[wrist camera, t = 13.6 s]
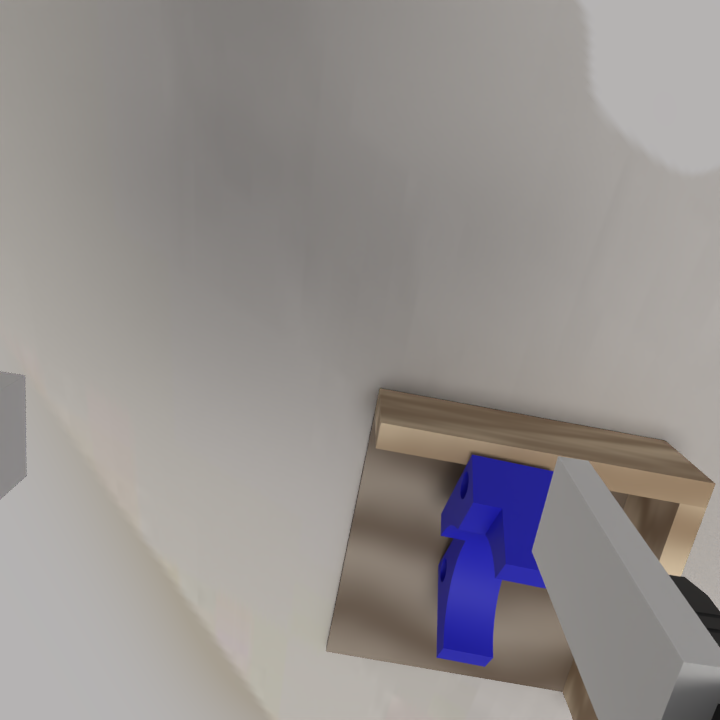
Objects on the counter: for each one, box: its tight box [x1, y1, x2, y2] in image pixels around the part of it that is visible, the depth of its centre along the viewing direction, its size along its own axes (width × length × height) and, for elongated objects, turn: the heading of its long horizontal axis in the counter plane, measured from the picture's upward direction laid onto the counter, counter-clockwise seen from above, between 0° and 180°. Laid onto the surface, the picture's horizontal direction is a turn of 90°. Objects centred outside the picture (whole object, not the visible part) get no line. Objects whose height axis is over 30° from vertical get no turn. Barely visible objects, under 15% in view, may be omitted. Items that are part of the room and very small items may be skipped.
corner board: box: [326, 388, 715, 720], centre depth 39 cm, size 20×18×6 cm
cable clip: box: [436, 455, 553, 667], centre depth 35 cm, size 12×4×6 cm, turn 167°
